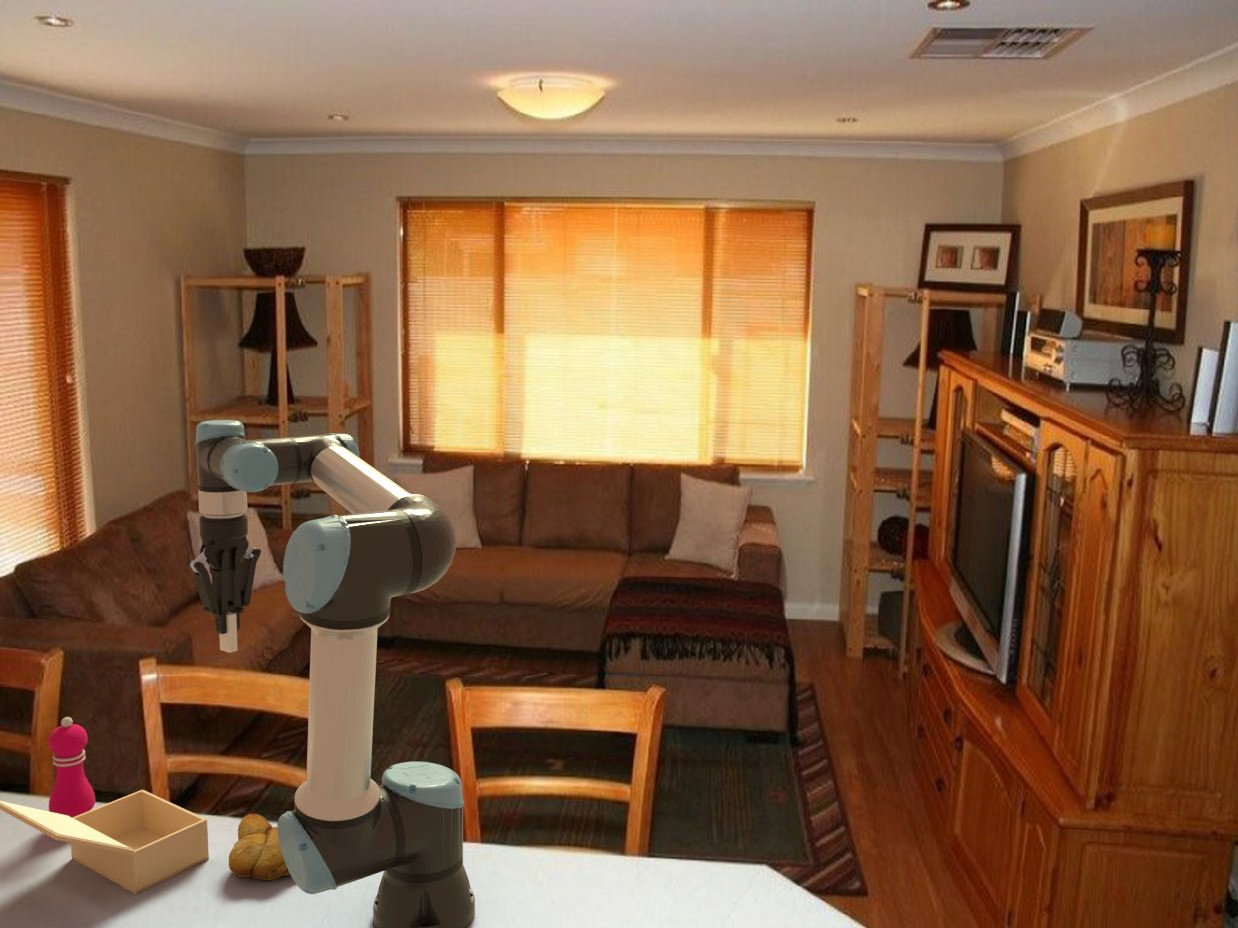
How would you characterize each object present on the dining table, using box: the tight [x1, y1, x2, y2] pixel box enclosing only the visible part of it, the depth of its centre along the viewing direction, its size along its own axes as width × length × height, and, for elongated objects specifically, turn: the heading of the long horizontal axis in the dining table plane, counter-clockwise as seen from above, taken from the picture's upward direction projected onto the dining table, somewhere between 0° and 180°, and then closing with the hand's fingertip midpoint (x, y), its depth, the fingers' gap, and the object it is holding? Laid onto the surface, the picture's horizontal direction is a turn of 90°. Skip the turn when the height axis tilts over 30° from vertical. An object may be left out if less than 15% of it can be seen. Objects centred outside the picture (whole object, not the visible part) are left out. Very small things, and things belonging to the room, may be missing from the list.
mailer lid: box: [0, 800, 134, 855], centre depth 166 cm, size 19×14×1 cm
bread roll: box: [228, 813, 291, 881], centre depth 175 cm, size 13×10×8 cm
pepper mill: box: [47, 716, 96, 818], centre depth 186 cm, size 7×7×20 cm
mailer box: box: [70, 789, 210, 895], centre depth 177 cm, size 18×13×7 cm
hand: (228, 649), depth 183 cm, fingers closed
